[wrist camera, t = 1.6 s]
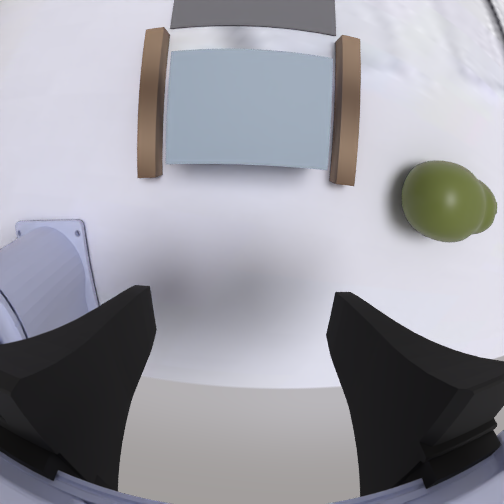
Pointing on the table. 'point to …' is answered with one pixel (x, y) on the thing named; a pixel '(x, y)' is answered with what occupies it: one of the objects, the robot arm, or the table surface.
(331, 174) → the chute
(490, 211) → the pear
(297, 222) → the table surface
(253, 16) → the mat
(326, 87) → the block
